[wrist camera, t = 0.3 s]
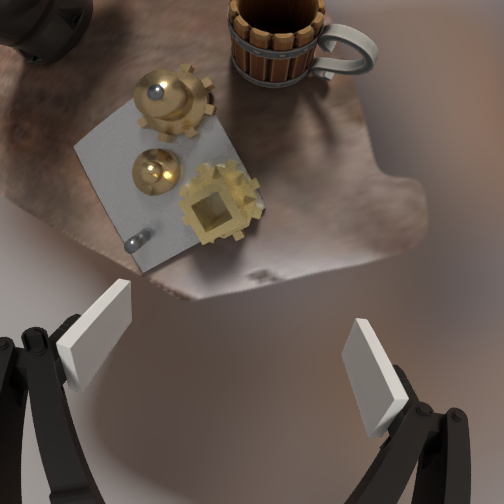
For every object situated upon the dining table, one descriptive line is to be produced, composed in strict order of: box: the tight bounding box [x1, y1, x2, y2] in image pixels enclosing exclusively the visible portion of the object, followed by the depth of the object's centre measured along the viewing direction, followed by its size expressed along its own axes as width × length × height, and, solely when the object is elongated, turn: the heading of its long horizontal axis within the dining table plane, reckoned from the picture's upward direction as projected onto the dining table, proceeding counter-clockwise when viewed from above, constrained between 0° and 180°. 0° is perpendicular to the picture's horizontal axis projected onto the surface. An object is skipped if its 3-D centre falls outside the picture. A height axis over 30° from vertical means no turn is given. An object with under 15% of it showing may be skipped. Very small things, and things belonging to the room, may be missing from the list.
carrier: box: [74, 63, 266, 273], centre depth 32 cm, size 23×22×10 cm
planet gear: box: [178, 160, 263, 245], centre depth 33 cm, size 10×10×8 cm
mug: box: [227, 0, 379, 88], centre depth 24 cm, size 16×11×15 cm
